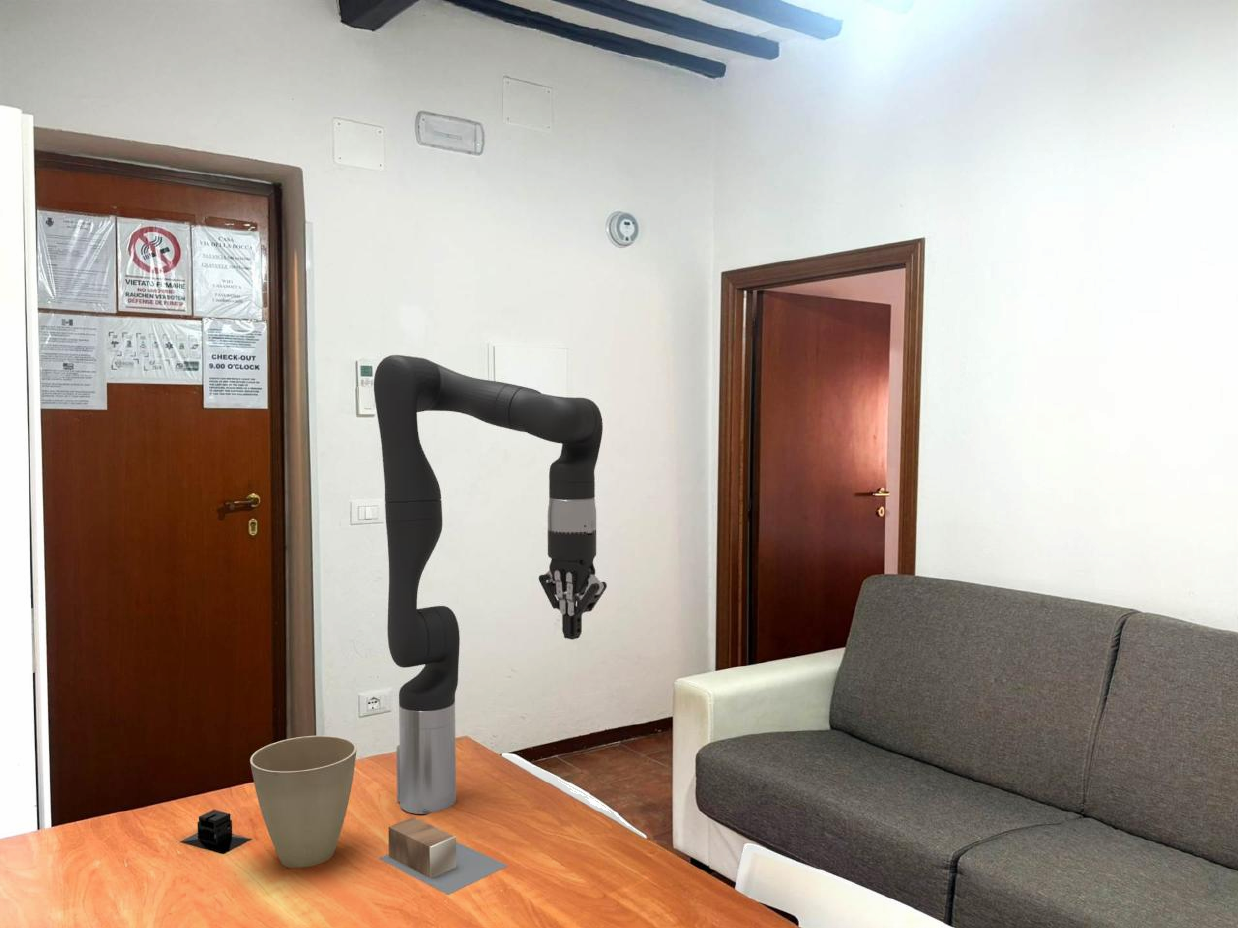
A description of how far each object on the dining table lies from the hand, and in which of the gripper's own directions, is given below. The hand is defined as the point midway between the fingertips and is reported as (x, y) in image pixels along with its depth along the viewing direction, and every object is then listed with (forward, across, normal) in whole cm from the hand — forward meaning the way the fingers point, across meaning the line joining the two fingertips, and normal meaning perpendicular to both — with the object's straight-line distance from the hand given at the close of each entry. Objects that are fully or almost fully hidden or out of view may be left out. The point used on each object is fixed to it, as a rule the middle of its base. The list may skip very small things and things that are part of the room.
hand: (572, 637), depth 148 cm
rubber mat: (+31, -7, -20) cm, 38 cm away
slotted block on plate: (+32, -40, -38) cm, 64 cm away
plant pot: (+31, -24, -32) cm, 51 cm away
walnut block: (+28, -4, -22) cm, 36 cm away
